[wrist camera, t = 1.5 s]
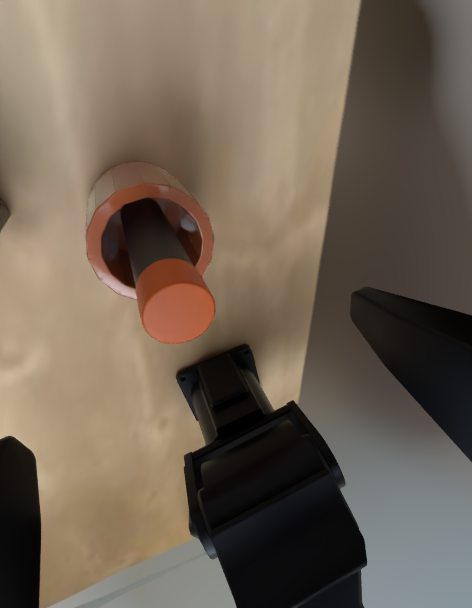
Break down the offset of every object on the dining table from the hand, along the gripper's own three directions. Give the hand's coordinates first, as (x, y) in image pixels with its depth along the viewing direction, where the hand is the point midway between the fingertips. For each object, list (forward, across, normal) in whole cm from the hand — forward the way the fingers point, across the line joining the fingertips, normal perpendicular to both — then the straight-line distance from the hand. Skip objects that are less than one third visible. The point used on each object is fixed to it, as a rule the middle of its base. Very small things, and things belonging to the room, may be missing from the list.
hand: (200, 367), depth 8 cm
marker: (+13, 0, 0) cm, 13 cm away
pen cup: (+13, 0, 0) cm, 13 cm away
